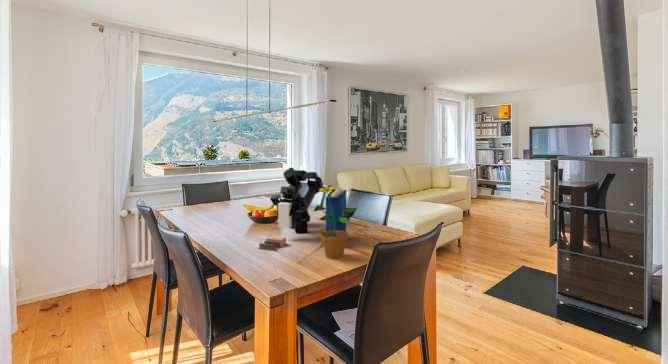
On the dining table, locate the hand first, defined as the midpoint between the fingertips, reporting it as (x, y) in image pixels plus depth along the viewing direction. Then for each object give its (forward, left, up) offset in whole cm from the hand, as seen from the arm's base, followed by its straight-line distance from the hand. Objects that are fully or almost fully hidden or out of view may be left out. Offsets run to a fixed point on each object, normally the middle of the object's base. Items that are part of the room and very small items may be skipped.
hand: (283, 215), depth 170 cm
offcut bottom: (+5, +6, -13) cm, 15 cm away
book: (-25, +5, -14) cm, 29 cm away
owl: (-9, -33, -14) cm, 37 cm away
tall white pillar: (-1, -1, -6) cm, 6 cm away
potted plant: (-17, +28, -14) cm, 36 cm away
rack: (+6, +8, -13) cm, 17 cm away
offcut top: (+5, +6, -11) cm, 13 cm away
